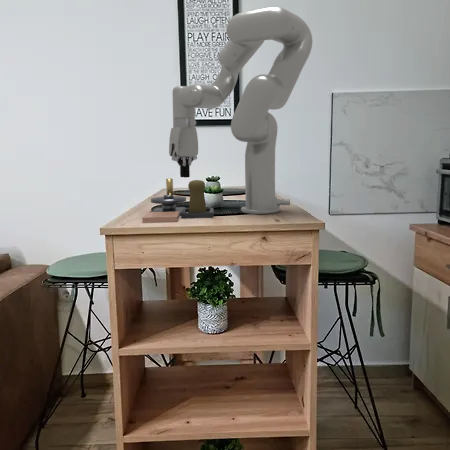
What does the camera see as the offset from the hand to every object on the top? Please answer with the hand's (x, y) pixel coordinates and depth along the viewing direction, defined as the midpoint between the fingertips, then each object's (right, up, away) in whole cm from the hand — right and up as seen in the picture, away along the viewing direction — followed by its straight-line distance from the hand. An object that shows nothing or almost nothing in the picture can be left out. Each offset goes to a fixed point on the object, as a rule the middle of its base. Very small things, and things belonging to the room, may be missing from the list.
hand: (184, 177), depth 162 cm
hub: (-4, -12, -9) cm, 16 cm away
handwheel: (-5, -9, -9) cm, 14 cm away
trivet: (-5, -15, -24) cm, 29 cm away
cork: (+6, -14, -19) cm, 24 cm away
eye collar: (+6, -14, -19) cm, 24 cm away
